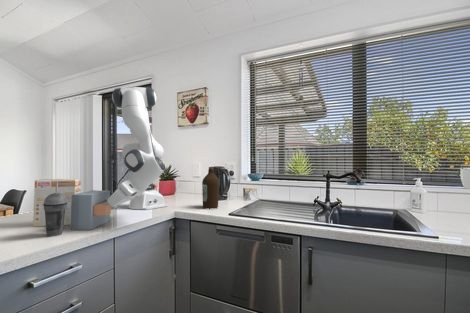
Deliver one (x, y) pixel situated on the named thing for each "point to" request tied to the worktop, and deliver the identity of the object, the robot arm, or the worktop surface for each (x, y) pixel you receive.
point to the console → (87, 210)
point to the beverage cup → (55, 213)
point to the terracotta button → (101, 209)
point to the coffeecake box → (48, 187)
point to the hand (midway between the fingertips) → (112, 207)
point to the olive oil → (210, 189)
